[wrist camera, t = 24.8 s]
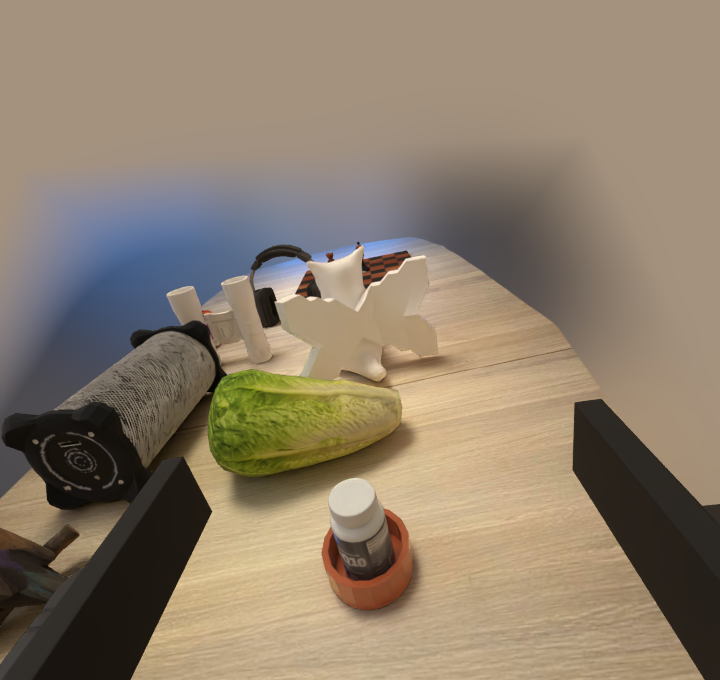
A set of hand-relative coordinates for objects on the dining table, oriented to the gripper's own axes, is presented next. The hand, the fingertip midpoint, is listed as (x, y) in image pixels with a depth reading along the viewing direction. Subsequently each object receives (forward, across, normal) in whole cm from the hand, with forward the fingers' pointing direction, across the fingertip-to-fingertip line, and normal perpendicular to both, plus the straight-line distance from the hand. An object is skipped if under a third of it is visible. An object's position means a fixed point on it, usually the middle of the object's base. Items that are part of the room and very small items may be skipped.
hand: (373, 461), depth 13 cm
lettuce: (+29, -13, -24) cm, 40 cm away
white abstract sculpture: (+52, -8, -24) cm, 57 cm away
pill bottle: (+13, -5, -24) cm, 27 cm away
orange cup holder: (+13, -5, -24) cm, 27 cm away
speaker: (+37, -40, -24) cm, 59 cm away
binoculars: (+62, -36, -24) cm, 75 cm away
